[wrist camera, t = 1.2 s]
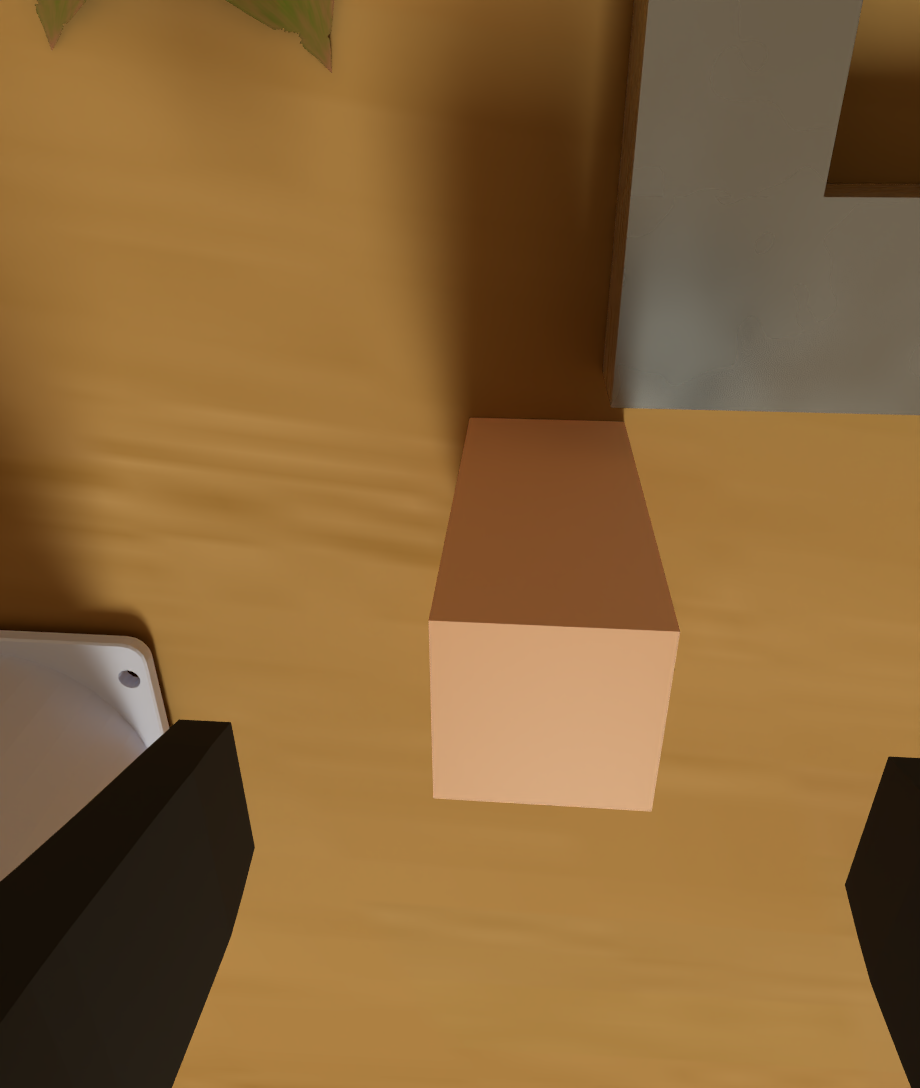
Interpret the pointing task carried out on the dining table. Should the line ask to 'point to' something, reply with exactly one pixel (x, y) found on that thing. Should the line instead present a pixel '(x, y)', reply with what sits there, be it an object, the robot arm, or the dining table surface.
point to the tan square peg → (550, 622)
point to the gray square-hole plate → (754, 222)
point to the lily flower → (277, 3)
